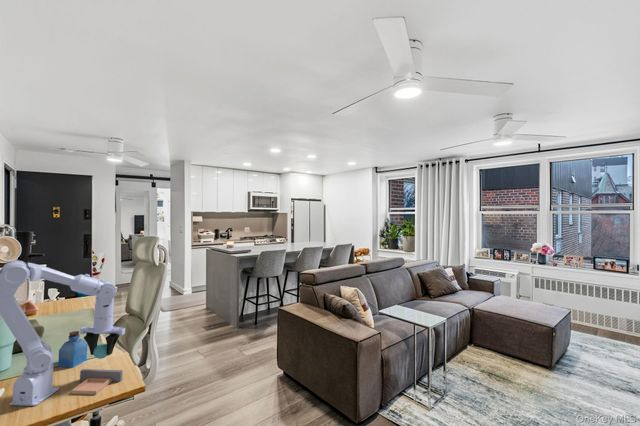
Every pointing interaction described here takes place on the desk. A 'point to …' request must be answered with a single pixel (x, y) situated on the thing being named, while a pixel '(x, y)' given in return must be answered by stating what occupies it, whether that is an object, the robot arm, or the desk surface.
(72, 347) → the perfume bottle
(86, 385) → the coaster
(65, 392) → the desk surface
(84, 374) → the wall
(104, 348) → the ball
